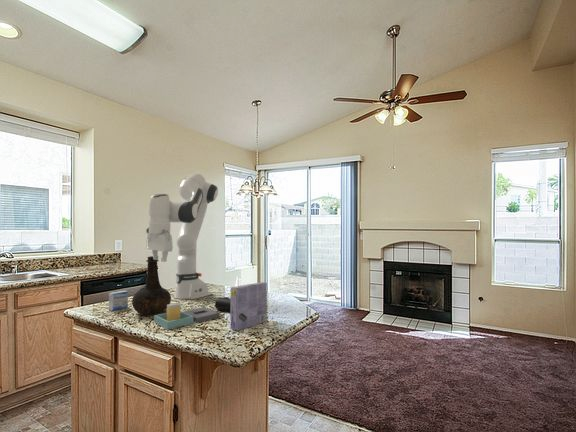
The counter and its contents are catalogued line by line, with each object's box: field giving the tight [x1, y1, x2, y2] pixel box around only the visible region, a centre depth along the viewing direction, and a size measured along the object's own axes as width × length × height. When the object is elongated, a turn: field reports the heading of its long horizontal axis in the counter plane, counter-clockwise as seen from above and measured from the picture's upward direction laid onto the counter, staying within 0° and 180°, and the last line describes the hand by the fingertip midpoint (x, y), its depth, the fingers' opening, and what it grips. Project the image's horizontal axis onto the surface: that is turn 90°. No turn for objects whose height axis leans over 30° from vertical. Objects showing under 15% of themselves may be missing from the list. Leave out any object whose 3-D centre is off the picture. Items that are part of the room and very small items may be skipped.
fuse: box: [166, 302, 181, 321], centre depth 138 cm, size 5×3×8 cm, turn 135°
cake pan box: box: [230, 281, 268, 332], centre depth 137 cm, size 19×5×18 cm, turn 141°
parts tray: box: [153, 310, 194, 330], centre depth 138 cm, size 12×14×4 cm
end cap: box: [214, 296, 231, 313], centre depth 158 cm, size 10×7×7 cm
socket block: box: [182, 306, 220, 324], centre depth 147 cm, size 12×14×2 cm
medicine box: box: [108, 290, 129, 312], centre depth 163 cm, size 8×4×9 cm, turn 143°
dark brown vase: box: [131, 255, 172, 316], centre depth 155 cm, size 18×18×28 cm
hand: (159, 260), depth 140 cm, fingers open, 8 cm apart
